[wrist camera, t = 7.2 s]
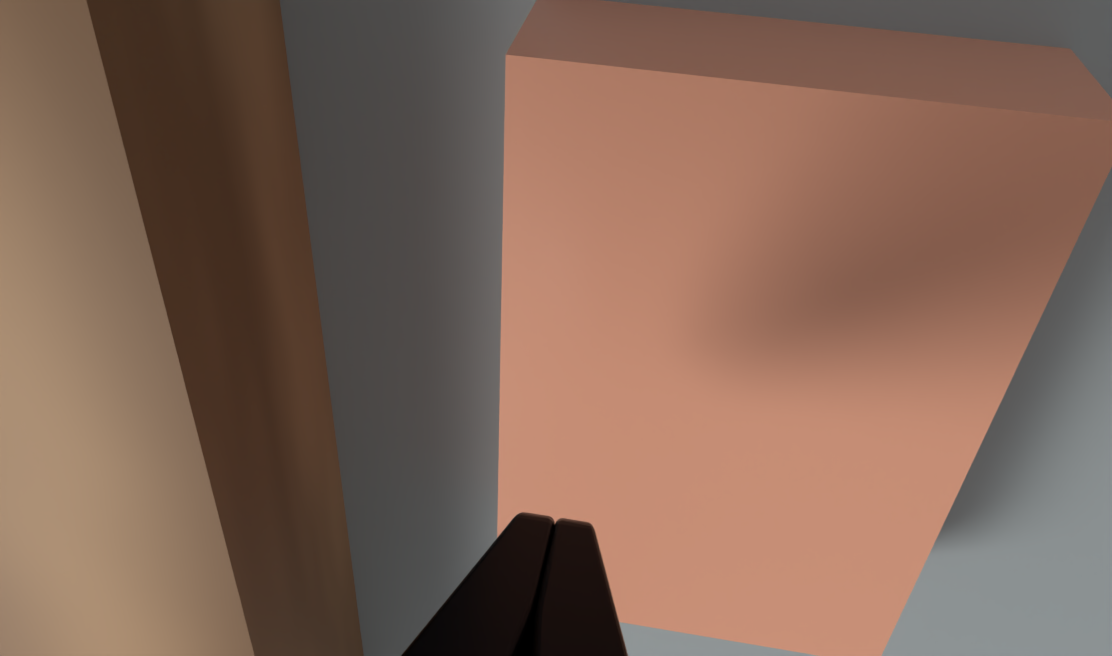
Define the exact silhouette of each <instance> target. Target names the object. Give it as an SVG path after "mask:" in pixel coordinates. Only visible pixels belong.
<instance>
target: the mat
mask: <svg viewBox="0 0 1112 656" xmlns="http://www.w3.org/2000/svg"><path fill="white" fill-rule="evenodd" d="M603 1H613V2H622V3H632V4H642V5H651V6H661V7H671V8H681V9H690V10H700V11H710V12H719V13H729V14H739V15H749V16H758V17H768V18H778V19H788V20H797V21H807V22H817V23H826V24H836V25H846V26H856V27H865V28H875V29H885V30H894V31H904V32H914V33H924V34H933V35H943V36H953V37H963V38H972V39H982V40H992V41H1001V42H1011V43H1021V44H1031V45H1040V46H1050V47H1060V48H1069V49H1071V50H1072V51H1073V52H1074V54H1075V55H1076V56H1077V57H1078V58H1079V60H1080V61H1081V62H1082V63H1083V64H1084V66H1085V67H1086V68H1087V69H1088V70H1089V72H1090V73H1091V74H1092V75H1093V77H1094V78H1095V79H1096V80H1097V81H1098V83H1099V84H1100V85H1101V86H1102V87H1103V89H1104V90H1105V91H1106V92H1107V93H1108V95H1109V96H1110V97H1111V98H1112V0H603ZM535 2H536V0H280V7H281V14H282V22H283V30H284V38H285V46H286V53H287V61H288V69H289V77H290V85H291V92H292V100H293V108H294V116H295V124H296V131H297V139H298V147H299V155H300V163H301V170H302V178H303V186H304V194H305V202H306V209H307V217H308V225H309V233H310V241H311V248H312V256H313V264H314V272H315V280H316V287H317V295H318V303H319V311H320V319H321V326H322V334H323V342H324V350H325V358H326V365H327V373H328V381H329V389H330V397H331V404H332V412H333V420H334V428H335V436H336V443H337V451H338V459H339V467H340V475H341V482H342V490H343V498H344V506H345V514H346V521H347V529H348V537H349V545H350V553H351V560H352V568H353V576H354V584H355V592H356V599H357V607H358V615H359V623H360V631H361V638H362V646H363V654H364V656H401V655H402V654H403V653H404V651H405V650H406V649H407V648H408V646H409V645H410V644H411V643H412V642H413V640H414V639H415V638H416V637H417V635H418V634H419V633H420V632H421V630H422V629H423V628H424V627H425V626H426V624H427V623H428V622H429V621H430V619H431V618H432V617H433V616H434V615H435V613H436V612H437V611H438V610H439V608H440V607H441V606H442V605H443V604H444V602H445V601H446V600H447V599H448V597H449V596H450V595H451V594H452V593H453V591H454V590H455V589H456V588H457V586H458V585H459V584H460V583H461V581H462V580H463V579H464V578H465V577H466V575H467V574H468V573H469V572H470V570H471V569H472V568H473V567H474V566H475V564H476V563H477V562H478V561H479V559H480V558H481V557H482V556H483V555H484V553H485V552H486V551H487V550H488V548H489V547H490V546H491V545H492V544H493V542H494V541H495V540H496V539H497V517H498V460H499V403H500V346H501V289H502V231H503V174H504V117H505V60H506V53H507V51H508V49H509V48H510V46H511V44H512V42H513V41H514V39H515V37H516V35H517V34H518V32H519V30H520V28H521V27H522V25H523V23H524V21H525V20H526V18H527V16H528V14H529V12H530V11H531V9H532V7H533V5H534V4H535ZM619 623H620V627H621V631H622V634H623V638H624V642H625V646H626V650H627V653H628V656H818V655H812V654H806V653H800V652H794V651H788V650H782V649H776V648H770V647H764V646H758V645H752V644H746V643H741V642H735V641H729V640H723V639H717V638H711V637H705V636H699V635H693V634H687V633H681V632H675V631H669V630H663V629H657V628H652V627H646V626H640V625H634V624H628V623H622V622H619ZM881 656H1112V167H1111V169H1110V172H1109V174H1108V176H1107V178H1106V180H1105V182H1104V184H1103V186H1102V189H1101V191H1100V193H1099V195H1098V197H1097V199H1096V201H1095V203H1094V206H1093V208H1092V210H1091V212H1090V214H1089V216H1088V218H1087V220H1086V222H1085V225H1084V227H1083V229H1082V231H1081V233H1080V235H1079V237H1078V239H1077V242H1076V244H1075V246H1074V248H1073V250H1072V252H1071V254H1070V256H1069V259H1068V261H1067V263H1066V265H1065V267H1064V269H1063V271H1062V273H1061V276H1060V278H1059V280H1058V282H1057V284H1056V286H1055V288H1054V290H1053V293H1052V295H1051V297H1050V299H1049V301H1048V303H1047V305H1046V307H1045V310H1044V312H1043V314H1042V316H1041V318H1040V320H1039V322H1038V324H1037V327H1036V329H1035V331H1034V333H1033V335H1032V337H1031V339H1030V341H1029V343H1028V346H1027V348H1026V350H1025V352H1024V354H1023V356H1022V358H1021V360H1020V363H1019V365H1018V367H1017V369H1016V371H1015V373H1014V375H1013V377H1012V380H1011V382H1010V384H1009V386H1008V388H1007V390H1006V392H1005V394H1004V397H1003V399H1002V401H1001V403H1000V405H999V407H998V409H997V411H996V414H995V416H994V418H993V420H992V422H991V424H990V426H989V428H988V431H987V433H986V435H985V437H984V439H983V441H982V443H981V445H980V447H979V450H978V452H977V454H976V456H975V458H974V460H973V462H972V464H971V467H970V469H969V471H968V473H967V475H966V477H965V479H964V481H963V484H962V486H961V488H960V490H959V492H958V494H957V496H956V498H955V501H954V503H953V505H952V507H951V509H950V511H949V513H948V515H947V518H946V520H945V522H944V524H943V526H942V528H941V530H940V532H939V535H938V537H937V539H936V541H935V543H934V545H933V547H932V549H931V551H930V554H929V556H928V558H927V560H926V562H925V564H924V566H923V568H922V571H921V573H920V575H919V577H918V579H917V581H916V583H915V585H914V588H913V590H912V592H911V594H910V596H909V598H908V600H907V602H906V605H905V607H904V609H903V611H902V613H901V615H900V617H899V619H898V622H897V624H896V626H895V628H894V630H893V632H892V634H891V636H890V639H889V641H888V643H887V645H886V647H885V649H884V651H883V653H882V655H881Z"/></svg>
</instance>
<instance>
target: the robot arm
mask: <svg viewBox="0 0 1112 656" xmlns="http://www.w3.org/2000/svg"><path fill="white" fill-rule="evenodd" d="M401 656H628V653H627V650H626V646H625V642H624V638H623V634H622V631H621V627H620V623H619V619H618V616H617V612H616V608H615V604H614V600H613V597H612V593H611V589H610V585H609V582H608V578H607V574H606V570H605V566H604V563H603V559H602V555H601V551H600V548H599V544H598V540H597V536H596V532H595V529H594V527H593V525H592V524H591V523H589V522H585V521H578V520H572V519H566V518H560V519H558V520H557V521H556V522H555V521H554V519H553V518H552V517H550V516H547V515H540V514H534V513H527V512H521V513H519V514H517V515H516V516H515V517H514V518H513V519H512V520H511V521H510V523H509V524H508V525H507V526H506V528H505V529H504V530H503V531H502V532H501V534H500V535H499V536H498V537H497V539H496V540H495V541H494V542H493V544H492V545H491V546H490V547H489V548H488V550H487V551H486V552H485V553H484V555H483V556H482V557H481V558H480V559H479V561H478V562H477V563H476V564H475V566H474V567H473V568H472V569H471V570H470V572H469V573H468V574H467V575H466V577H465V578H464V579H463V580H462V581H461V583H460V584H459V585H458V586H457V588H456V589H455V590H454V591H453V593H452V594H451V595H450V596H449V597H448V599H447V600H446V601H445V602H444V604H443V605H442V606H441V607H440V608H439V610H438V611H437V612H436V613H435V615H434V616H433V617H432V618H431V619H430V621H429V622H428V623H427V624H426V626H425V627H424V628H423V629H422V630H421V632H420V633H419V634H418V635H417V637H416V638H415V639H414V640H413V642H412V643H411V644H410V645H409V646H408V648H407V649H406V650H405V651H404V653H403V654H402V655H401Z"/></svg>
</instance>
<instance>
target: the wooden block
mask: <svg viewBox="0 0 1112 656" xmlns="http://www.w3.org/2000/svg"><path fill="white" fill-rule="evenodd" d="M0 656H364V654H363V646H362V638H361V631H360V623H359V615H358V607H357V599H356V592H355V584H354V576H353V568H352V560H351V553H350V545H349V537H348V529H347V521H346V514H345V506H344V498H343V490H342V482H341V475H340V467H339V459H338V451H337V443H336V436H335V428H334V420H333V412H332V404H331V397H330V389H329V381H328V373H327V365H326V358H325V350H324V342H323V334H322V326H321V319H320V311H319V303H318V295H317V287H316V280H315V272H314V264H313V256H312V248H311V241H310V233H309V225H308V217H307V209H306V202H305V194H304V186H303V178H302V170H301V163H300V155H299V147H298V139H297V131H296V124H295V116H294V108H293V100H292V92H291V85H290V77H289V69H288V61H287V53H286V46H285V38H284V30H283V22H282V14H281V7H280V0H0Z"/></svg>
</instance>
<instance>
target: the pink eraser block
mask: <svg viewBox="0 0 1112 656" xmlns="http://www.w3.org/2000/svg"><path fill="white" fill-rule="evenodd" d="M1111 167H1112V98H1111V97H1110V96H1109V95H1108V93H1107V92H1106V91H1105V90H1104V89H1103V87H1102V86H1101V85H1100V84H1099V83H1098V81H1097V80H1096V79H1095V78H1094V77H1093V75H1092V74H1091V73H1090V72H1089V70H1088V69H1087V68H1086V67H1085V66H1084V64H1083V63H1082V62H1081V61H1080V60H1079V58H1078V57H1077V56H1076V55H1075V54H1074V52H1073V51H1072V50H1071V49H1069V48H1060V47H1050V46H1040V45H1031V44H1021V43H1011V42H1001V41H992V40H982V39H972V38H963V37H953V36H943V35H933V34H924V33H914V32H904V31H894V30H885V29H875V28H865V27H856V26H846V25H836V24H826V23H817V22H807V21H797V20H788V19H778V18H768V17H758V16H749V15H739V14H729V13H719V12H710V11H700V10H690V9H681V8H671V7H661V6H651V5H642V4H632V3H622V2H613V1H603V0H536V2H535V4H534V5H533V7H532V9H531V11H530V12H529V14H528V16H527V18H526V20H525V21H524V23H523V25H522V27H521V28H520V30H519V32H518V34H517V35H516V37H515V39H514V41H513V42H512V44H511V46H510V48H509V49H508V51H507V53H506V60H505V117H504V174H503V231H502V289H501V346H500V403H499V460H498V517H497V537H498V536H499V535H500V534H501V532H502V531H503V530H504V529H505V528H506V526H507V525H508V524H509V523H510V521H511V520H512V519H513V518H514V517H515V516H516V515H517V514H519V513H521V512H527V513H534V514H540V515H547V516H550V517H552V518H553V519H554V521H555V522H556V521H557V520H558V519H560V518H566V519H572V520H578V521H585V522H589V523H591V524H592V525H593V527H594V529H595V532H596V536H597V540H598V544H599V548H600V551H601V555H602V559H603V563H604V566H605V570H606V574H607V578H608V582H609V585H610V589H611V593H612V597H613V600H614V604H615V608H616V612H617V616H618V619H619V622H622V623H628V624H634V625H640V626H646V627H652V628H657V629H663V630H669V631H675V632H681V633H687V634H693V635H699V636H705V637H711V638H717V639H723V640H729V641H735V642H741V643H746V644H752V645H758V646H764V647H770V648H776V649H782V650H788V651H794V652H800V653H806V654H812V655H818V656H881V655H882V653H883V651H884V649H885V647H886V645H887V643H888V641H889V639H890V636H891V634H892V632H893V630H894V628H895V626H896V624H897V622H898V619H899V617H900V615H901V613H902V611H903V609H904V607H905V605H906V602H907V600H908V598H909V596H910V594H911V592H912V590H913V588H914V585H915V583H916V581H917V579H918V577H919V575H920V573H921V571H922V568H923V566H924V564H925V562H926V560H927V558H928V556H929V554H930V551H931V549H932V547H933V545H934V543H935V541H936V539H937V537H938V535H939V532H940V530H941V528H942V526H943V524H944V522H945V520H946V518H947V515H948V513H949V511H950V509H951V507H952V505H953V503H954V501H955V498H956V496H957V494H958V492H959V490H960V488H961V486H962V484H963V481H964V479H965V477H966V475H967V473H968V471H969V469H970V467H971V464H972V462H973V460H974V458H975V456H976V454H977V452H978V450H979V447H980V445H981V443H982V441H983V439H984V437H985V435H986V433H987V431H988V428H989V426H990V424H991V422H992V420H993V418H994V416H995V414H996V411H997V409H998V407H999V405H1000V403H1001V401H1002V399H1003V397H1004V394H1005V392H1006V390H1007V388H1008V386H1009V384H1010V382H1011V380H1012V377H1013V375H1014V373H1015V371H1016V369H1017V367H1018V365H1019V363H1020V360H1021V358H1022V356H1023V354H1024V352H1025V350H1026V348H1027V346H1028V343H1029V341H1030V339H1031V337H1032V335H1033V333H1034V331H1035V329H1036V327H1037V324H1038V322H1039V320H1040V318H1041V316H1042V314H1043V312H1044V310H1045V307H1046V305H1047V303H1048V301H1049V299H1050V297H1051V295H1052V293H1053V290H1054V288H1055V286H1056V284H1057V282H1058V280H1059V278H1060V276H1061V273H1062V271H1063V269H1064V267H1065V265H1066V263H1067V261H1068V259H1069V256H1070V254H1071V252H1072V250H1073V248H1074V246H1075V244H1076V242H1077V239H1078V237H1079V235H1080V233H1081V231H1082V229H1083V227H1084V225H1085V222H1086V220H1087V218H1088V216H1089V214H1090V212H1091V210H1092V208H1093V206H1094V203H1095V201H1096V199H1097V197H1098V195H1099V193H1100V191H1101V189H1102V186H1103V184H1104V182H1105V180H1106V178H1107V176H1108V174H1109V172H1110V169H1111Z"/></svg>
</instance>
